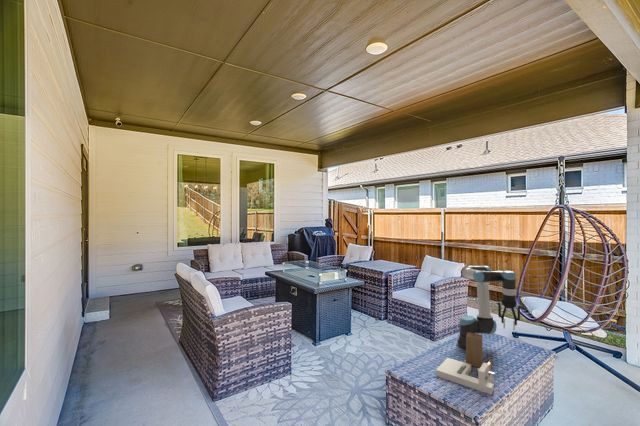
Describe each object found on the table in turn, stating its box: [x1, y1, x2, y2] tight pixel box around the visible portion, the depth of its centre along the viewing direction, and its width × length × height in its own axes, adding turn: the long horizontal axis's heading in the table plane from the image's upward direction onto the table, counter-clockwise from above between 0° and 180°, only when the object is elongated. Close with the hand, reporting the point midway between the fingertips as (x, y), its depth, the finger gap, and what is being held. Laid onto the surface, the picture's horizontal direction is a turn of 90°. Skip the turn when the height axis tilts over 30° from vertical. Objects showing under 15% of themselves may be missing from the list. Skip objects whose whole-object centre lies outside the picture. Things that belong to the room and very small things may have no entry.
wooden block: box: [465, 332, 484, 368], centre depth 221 cm, size 10×10×20 cm
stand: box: [435, 357, 495, 396], centre depth 203 cm, size 22×33×12 cm, turn 49°
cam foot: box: [477, 359, 495, 384], centre depth 201 cm, size 18×10×9 cm, turn 139°
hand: (509, 328), depth 206 cm, fingers open, 5 cm apart
